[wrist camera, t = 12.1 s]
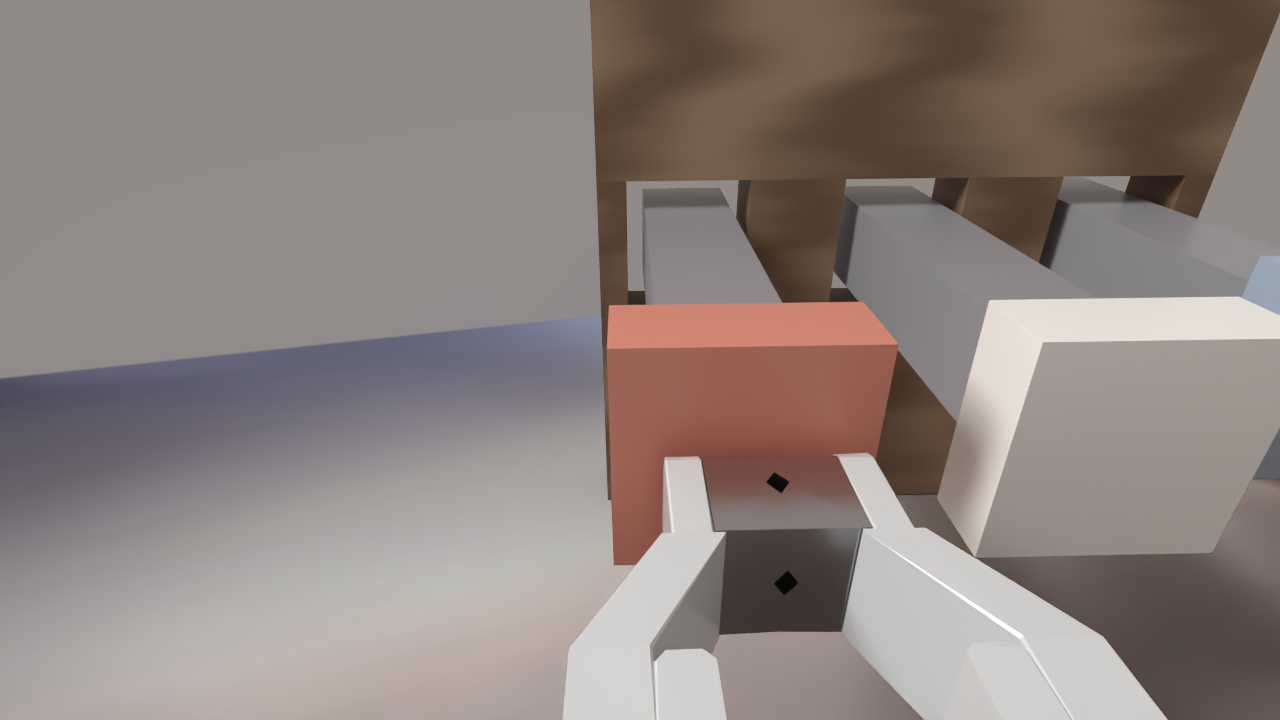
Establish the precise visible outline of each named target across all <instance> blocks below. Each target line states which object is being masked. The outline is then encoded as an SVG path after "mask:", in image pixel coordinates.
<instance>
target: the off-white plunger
mask: <svg viewBox="0 0 1280 720" xmlns="http://www.w3.org/2000/svg"><path fill="white" fill-rule="evenodd" d="M833 271H834V272H835V273H836V275H837V276H838V277H839V278H840V279H841V281H842V282H843V283H844V284H845V286H846V287H847V288H848V289H849V291H850V292H851V293H852V294H853V295H854V297H855V298H856V299H857V300H858V302H864V303H865V304H866V305H867V307H868V308H869V309H870V310H871V312H872V313H873V314H874V315H875V316H876V318H877V319H878V320H879V321H880V322H881V324H882V325H883V326H884V327H885V328H886V330H887V331H888V332H889V333H890V334H891V336H892V337H893V338H894V339H895V340H896V342H897V343H898V344H899V346H898V351H899V352H900V353H901V354H902V356H903V357H904V358H905V359H906V361H907V362H908V363H909V364H910V366H911V367H912V368H913V369H914V370H915V372H916V373H917V374H918V375H919V377H920V378H921V379H922V380H923V382H924V383H925V384H926V385H927V386H928V388H929V389H930V390H931V391H932V393H933V394H934V395H935V396H936V398H937V399H938V400H939V401H940V402H941V404H942V405H943V406H944V407H945V409H946V410H947V411H948V412H949V414H950V415H951V416H952V417H953V418H954V420H955V421H956V422H957V424H956V428H955V432H954V436H953V439H952V443H951V447H950V451H949V455H948V458H947V462H946V466H945V470H944V474H943V477H942V481H941V485H940V489H939V492H938V496H937V500H938V501H939V503H940V504H941V506H942V507H943V509H944V511H945V512H946V514H947V515H948V517H949V518H950V520H951V521H952V523H953V525H954V526H955V528H956V529H957V531H958V532H959V534H960V535H961V537H962V538H963V540H964V542H965V543H966V545H967V546H968V548H969V549H970V551H971V552H972V554H973V556H974V557H975V558H991V557H1040V556H1088V555H1136V554H1185V553H1212V552H1213V550H1214V548H1215V546H1216V545H1217V543H1218V541H1219V539H1220V537H1221V535H1222V533H1223V532H1224V530H1225V528H1226V526H1227V524H1228V522H1229V521H1230V519H1231V517H1232V515H1233V513H1234V511H1235V509H1236V508H1237V506H1238V504H1239V502H1240V500H1241V498H1242V497H1243V495H1244V493H1245V491H1246V489H1247V487H1248V486H1249V484H1250V482H1251V480H1252V478H1253V476H1254V474H1255V473H1256V471H1257V469H1258V467H1259V465H1260V463H1261V462H1262V460H1263V458H1264V456H1265V454H1266V452H1267V450H1268V449H1269V447H1270V445H1271V443H1272V441H1273V439H1274V438H1275V436H1276V434H1277V432H1278V430H1279V428H1280V315H1278V314H1275V313H1273V312H1271V311H1269V310H1267V309H1265V308H1262V307H1260V306H1258V305H1256V304H1254V303H1252V302H1250V301H1247V300H1245V299H1243V298H1241V297H1169V298H1096V297H1094V296H1093V295H1091V294H1089V293H1088V292H1086V291H1084V290H1083V289H1081V288H1079V287H1078V286H1076V285H1074V284H1073V283H1071V282H1069V281H1068V280H1066V279H1064V278H1063V277H1061V276H1059V275H1058V274H1056V273H1054V272H1053V271H1051V270H1049V269H1048V268H1046V267H1044V266H1043V265H1041V264H1040V263H1038V262H1036V261H1035V260H1033V259H1031V258H1030V257H1028V256H1026V255H1025V254H1023V253H1021V252H1020V251H1018V250H1016V249H1015V248H1013V247H1011V246H1010V245H1008V244H1006V243H1005V242H1003V241H1001V240H1000V239H998V238H996V237H995V236H993V235H991V234H990V233H988V232H986V231H985V230H983V229H982V228H980V227H978V226H977V225H975V224H973V223H972V222H970V221H968V220H967V219H965V218H963V217H962V216H960V215H958V214H957V213H955V212H953V211H952V210H950V209H948V208H947V207H945V206H943V205H942V204H940V203H938V202H937V201H935V200H933V199H932V198H930V197H928V196H927V195H925V194H924V193H922V192H920V191H918V190H917V189H915V188H914V187H912V186H858V187H857V186H854V187H845V192H844V199H843V206H842V213H841V221H840V228H839V235H838V242H837V249H836V256H835V263H834V270H833Z"/></svg>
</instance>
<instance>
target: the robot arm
mask: <svg viewBox="0 0 1280 720" xmlns="http://www.w3.org/2000/svg"><path fill="white" fill-rule="evenodd" d="M662 520H663V533H662V534H661V535H660V536H659V537H658V538H657V540H656V541H655V542H654V543H653V545H652V546H651V547H650V548H649V550H648V551H647V552H646V553H645V555H644V556H643V557H642V558H641V559H640V561H639V562H638V563H637V564H636V566H635V567H634V568H633V569H632V571H631V572H630V573H629V574H628V576H627V577H626V578H625V579H624V581H623V582H622V583H621V584H620V586H619V587H618V588H617V589H616V591H615V592H614V593H613V594H612V596H611V597H610V598H609V599H608V601H607V602H606V603H605V604H604V606H603V607H602V608H601V609H600V610H599V612H598V613H597V614H596V615H595V617H594V618H593V619H592V620H591V622H590V623H589V624H588V625H587V627H586V628H585V629H584V630H583V632H582V633H581V634H580V635H579V637H578V638H577V639H576V640H575V642H574V643H573V644H572V645H571V647H570V648H569V652H568V663H567V675H566V686H565V697H564V708H563V720H727V718H726V712H725V706H724V700H723V693H722V687H721V681H720V675H719V669H718V662H717V658H716V657H714V656H713V655H711V653H712V651H713V649H714V647H715V645H716V643H717V641H718V639H719V635H723V634H742V633H761V632H842V634H841V635H842V636H843V637H844V638H845V639H846V640H847V641H848V642H849V643H850V644H851V645H852V646H853V647H854V648H855V649H856V650H857V651H858V652H859V653H860V654H861V655H862V656H863V657H864V658H865V660H866V661H867V662H868V663H869V664H870V665H871V666H872V667H873V668H874V669H875V670H876V671H877V672H878V673H879V674H880V675H881V676H882V677H883V678H884V679H885V680H886V681H887V682H888V683H889V684H890V685H891V686H892V687H893V688H894V689H895V690H896V691H897V692H898V693H899V694H900V695H901V696H902V697H903V698H904V699H905V701H906V702H907V703H908V704H909V705H910V706H911V707H912V708H913V709H914V710H915V711H916V712H917V713H918V714H919V715H920V716H921V717H922V718H923V719H924V720H1167V718H1166V717H1165V716H1164V714H1163V713H1162V712H1161V710H1160V709H1159V708H1158V707H1157V705H1156V704H1155V703H1154V701H1153V700H1152V699H1151V698H1150V696H1149V695H1148V694H1147V692H1146V691H1145V690H1144V689H1143V687H1142V686H1141V685H1140V683H1139V682H1138V681H1137V680H1136V678H1135V677H1134V676H1133V674H1132V673H1131V672H1130V670H1129V669H1128V668H1127V667H1126V665H1125V664H1124V663H1123V661H1122V660H1121V659H1120V658H1119V656H1118V655H1117V654H1116V652H1115V651H1114V650H1113V649H1112V647H1111V646H1110V645H1109V643H1108V642H1107V641H1106V640H1105V638H1104V637H1103V636H1101V635H1100V634H1098V633H1096V632H1095V631H1093V630H1092V629H1090V628H1088V627H1087V626H1085V625H1083V624H1082V623H1080V622H1078V621H1077V620H1075V619H1074V618H1072V617H1070V616H1069V615H1067V614H1065V613H1064V612H1062V611H1061V610H1059V609H1057V608H1056V607H1054V606H1052V605H1051V604H1049V603H1047V602H1046V601H1044V600H1043V599H1041V598H1039V597H1038V596H1036V595H1034V594H1033V593H1031V592H1030V591H1028V590H1026V589H1025V588H1023V587H1021V586H1020V585H1018V584H1017V583H1015V582H1013V581H1012V580H1010V579H1008V578H1007V577H1005V576H1003V575H1002V574H1000V573H999V572H997V571H995V570H994V569H992V568H990V567H989V566H987V565H986V564H984V563H982V562H981V561H979V560H977V559H976V558H974V557H972V556H971V555H969V554H968V553H966V552H964V551H963V550H961V549H959V548H958V547H956V546H955V545H953V544H951V543H950V542H948V541H946V540H945V539H943V538H941V537H940V536H938V535H937V534H935V533H933V532H932V531H930V530H928V529H927V528H915V527H914V525H913V524H912V522H911V520H910V519H909V517H908V515H907V514H906V512H905V510H904V508H903V507H902V505H901V503H900V502H899V500H898V498H897V496H896V495H895V493H894V491H893V490H892V488H891V486H890V485H889V483H888V481H887V479H886V478H885V476H884V474H883V473H882V471H881V469H880V467H879V466H878V464H877V462H876V461H875V459H874V457H873V456H872V455H870V454H868V453H852V454H833V456H795V457H744V456H700V458H699V457H698V456H693V457H665V459H664V469H663V518H662Z"/></svg>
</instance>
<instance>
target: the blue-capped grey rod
mask: <svg viewBox="0 0 1280 720" xmlns="http://www.w3.org/2000/svg"><path fill="white" fill-rule="evenodd" d="M1039 263H1040V264H1041V265H1043V266H1044V267H1046V268H1048V269H1049V270H1051V271H1053V272H1054V273H1056V274H1058V275H1059V276H1061V277H1063V278H1064V279H1066V280H1068V281H1069V282H1071V283H1073V284H1074V285H1076V286H1078V287H1079V288H1081V289H1083V290H1084V291H1086V292H1088V293H1089V294H1091V295H1093V296H1094V297H1096V298H1169V297H1241V298H1243V299H1245V300H1247V301H1250V302H1252V303H1254V304H1256V305H1258V306H1260V307H1262V308H1265V309H1267V310H1269V311H1271V312H1273V313H1275V314H1278V315H1280V248H1278V247H1275V246H1272V245H1269V244H1266V243H1263V242H1261V241H1258V240H1255V239H1253V238H1250V237H1247V236H1244V235H1241V234H1239V233H1236V232H1233V231H1230V230H1227V229H1225V228H1222V227H1219V226H1216V225H1214V224H1211V223H1208V222H1205V221H1202V220H1199V219H1197V218H1194V217H1191V216H1189V215H1186V214H1183V213H1180V212H1177V211H1175V210H1172V209H1169V208H1166V207H1163V206H1161V205H1158V204H1155V203H1152V202H1150V201H1147V200H1144V199H1141V198H1138V197H1136V196H1133V195H1130V194H1127V193H1124V192H1122V191H1118V190H1116V189H1113V188H1111V187H1108V186H1105V185H1102V184H1099V183H1097V182H1094V181H1091V180H1088V179H1085V178H1082V177H1080V176H1071V177H1064V178H1063V182H1062V185H1061V189H1060V192H1059V195H1058V199H1057V202H1056V206H1055V209H1054V212H1053V216H1052V219H1051V223H1050V226H1049V229H1048V233H1047V236H1046V240H1045V243H1044V246H1043V250H1042V253H1041V257H1040V260H1039ZM1252 479H1280V428H1279V430H1278V432H1277V434H1276V436H1275V438H1274V439H1273V441H1272V443H1271V445H1270V447H1269V449H1268V450H1267V452H1266V454H1265V456H1264V458H1263V460H1262V462H1261V463H1260V465H1259V467H1258V469H1257V471H1256V473H1255V474H1254V476H1253V478H1252Z"/></svg>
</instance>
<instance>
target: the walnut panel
mask: <svg viewBox="0 0 1280 720" xmlns="http://www.w3.org/2000/svg"><path fill="white" fill-rule="evenodd" d="M590 9H591V11H590V12H591V39H592V68H593V94H594V95H593V96H594V123H595V150H596V178H597V205H598V234H599V260H600V261H599V262H600V288H601V317H602V345H603V372H604V400H605V428H606V455H607V483H608V500H612V492H611V461H610V431H609V400H608V370H607V335H608V314H609V305H646V300H645V291H628V272H627V271H628V270H627V211H626V210H627V208H626V207H627V206H626V181H694V180H739V184H738V199H737V215H736V219H737V221H738V223H739V225H740V226H741V228H742V230H743V232H744V234H745V236H746V237H747V239H748V241H749V243H750V245H751V246H752V248H753V250H754V252H755V254H756V256H757V257H758V259H759V261H760V263H761V265H762V267H763V268H764V270H765V272H766V274H767V276H768V278H769V279H770V281H771V283H772V285H773V287H774V289H775V290H776V292H777V294H778V296H779V298H780V299H781V301H782V303H808V302H858V300H857V299H856V298H855V297H854V295H853V294H852V293H851V292H850V291H849V289H848V288H831V284H832V277H833V270H834V263H835V256H836V249H837V242H838V235H839V228H840V221H841V213H842V206H843V199H844V192H845V184H846V179H878V178H879V179H883V178H936V179H935V184H934V189H933V194H932V199H933V200H935V201H937V202H938V203H940V204H942V205H943V206H945V207H947V208H948V209H950V210H952V211H953V212H955V213H957V214H958V215H960V216H962V217H963V218H965V219H967V220H968V221H970V222H972V223H973V224H975V225H977V226H978V227H980V228H982V229H983V230H985V231H986V232H988V233H990V234H991V235H993V236H995V237H996V238H998V239H1000V240H1001V241H1003V242H1005V243H1006V244H1008V245H1010V246H1011V247H1013V248H1015V249H1016V250H1018V251H1020V252H1021V253H1023V254H1025V255H1026V256H1028V257H1030V258H1031V259H1033V260H1035V261H1036V262H1038V263H1039V260H1040V257H1041V253H1042V250H1043V246H1044V243H1045V240H1046V236H1047V233H1048V229H1049V226H1050V223H1051V219H1052V216H1053V212H1054V209H1055V206H1056V202H1057V199H1058V195H1059V192H1060V189H1061V185H1062V182H1063V178H1064V177H1071V176H1131V177H1130V180H1129V183H1128V186H1127V189H1126V192H1125V193H1127V194H1130V195H1133V196H1136V197H1138V198H1141V199H1144V200H1147V201H1150V202H1152V203H1155V204H1158V205H1161V206H1163V207H1166V208H1169V209H1172V210H1175V211H1177V212H1180V213H1183V214H1186V215H1189V216H1191V217H1194V218H1198V216H1199V213H1200V211H1201V208H1202V206H1203V203H1204V201H1205V198H1206V196H1207V193H1208V191H1209V188H1210V186H1211V183H1212V181H1213V178H1214V176H1215V173H1216V171H1217V168H1218V166H1219V163H1220V161H1221V158H1222V156H1223V153H1224V151H1225V148H1226V146H1227V143H1228V141H1229V138H1230V136H1231V133H1232V131H1233V128H1234V126H1235V123H1236V121H1237V118H1238V116H1239V113H1240V111H1241V108H1242V106H1243V103H1244V101H1245V98H1246V96H1247V93H1248V91H1249V88H1250V86H1251V83H1252V81H1253V78H1254V76H1255V73H1256V71H1257V68H1258V66H1259V63H1260V61H1261V58H1262V56H1263V53H1264V51H1265V48H1266V46H1267V43H1268V41H1269V38H1270V36H1271V33H1272V31H1273V28H1274V26H1275V23H1276V21H1277V18H1278V16H1279V13H1280V0H590ZM956 424H957V422H956V421H955V420H954V418H953V417H952V416H951V415H950V414H949V412H948V411H947V410H946V409H945V407H944V406H943V405H942V404H941V402H940V401H939V400H938V399H937V398H936V396H935V395H934V394H933V393H932V391H931V390H930V389H929V388H928V386H927V385H926V384H925V383H924V382H923V380H922V379H921V378H920V377H919V375H918V374H917V373H916V372H915V370H914V369H913V368H912V367H911V366H910V364H909V363H908V362H907V361H906V359H905V358H904V357H903V356H902V354H901V353H900V352H899V351H897V356H896V361H895V366H894V371H893V376H892V381H891V386H890V391H889V396H888V401H887V406H886V411H885V416H884V421H883V425H882V430H881V435H880V440H879V445H878V450H877V455H876V460H875V461H876V462H877V464H878V466H879V467H880V469H881V471H882V473H883V474H884V476H885V478H886V479H887V481H888V483H889V485H890V486H891V488H892V490H893V491H894V493H895V494H938V492H939V489H940V485H941V481H942V477H943V474H944V470H945V466H946V462H947V458H948V455H949V451H950V447H951V443H952V439H953V436H954V432H955V428H956Z"/></svg>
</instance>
